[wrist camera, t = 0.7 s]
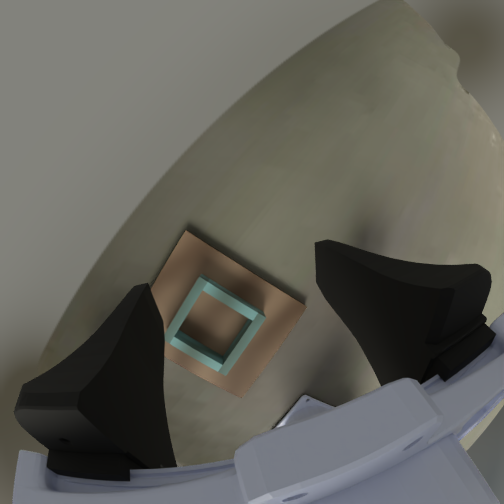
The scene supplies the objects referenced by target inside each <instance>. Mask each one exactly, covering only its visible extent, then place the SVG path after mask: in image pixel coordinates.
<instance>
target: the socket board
mask: <svg viewBox="0 0 504 504" xmlns="http://www.w3.org/2000/svg"><path fill="white" fill-rule="evenodd" d="M151 292H152V294H153V297H154V299H155V302H156V304H157V307H158V309H159V312H160V314H161V316H162V319H163V322H164V334H165V352H164V356H165V357H166V358H168V359H170V360H171V361H173V362H175V363H176V364H178V365H180V366H181V367H183V368H185V369H187V370H188V371H190V372H192V373H194V374H195V375H197V376H199V377H201V378H203V379H205V380H206V381H208V382H210V383H212V384H214V385H216V386H218V387H220V388H222V389H224V390H226V391H228V392H230V393H232V394H234V395H236V396H238V397H240V398H242V397H243V396H244V395H245V393H246V392H247V391H248V389H249V388H250V387H251V385H252V384H253V383H254V382H255V380H256V379H257V378H258V376H259V375H260V374H261V372H262V371H263V370H264V368H265V367H266V365H267V364H268V363H269V361H270V360H271V359H272V357H273V356H274V354H275V353H276V352H277V350H278V349H279V347H280V346H281V345H282V343H283V342H284V340H285V339H286V337H287V336H288V334H289V333H290V332H291V330H292V329H293V327H294V326H295V324H296V323H297V321H298V320H299V318H300V317H301V315H302V314H303V312H304V311H305V309H306V308H307V307H306V306H305V305H304V304H302V303H301V302H299V301H297V300H296V299H294V298H293V297H291V296H289V295H288V294H286V293H285V292H283V291H281V290H280V289H278V288H277V287H275V286H273V285H272V284H270V283H269V282H267V281H265V280H264V279H262V278H261V277H259V276H257V275H256V274H254V273H253V272H251V271H249V270H248V269H246V268H245V267H243V266H242V265H240V264H238V263H237V262H235V261H234V260H232V259H230V258H229V257H227V256H226V255H224V254H223V253H221V252H219V251H218V250H216V249H215V248H213V247H212V246H210V245H209V244H207V243H205V242H204V241H202V240H201V239H199V238H198V237H196V236H195V235H193V234H191V233H190V232H188V231H185V232H184V234H183V235H182V237H181V239H180V240H179V242H178V244H177V245H176V247H175V249H174V250H173V252H172V253H171V255H170V257H169V259H168V260H167V262H166V264H165V265H164V267H163V269H162V270H161V272H160V274H159V276H158V277H157V279H156V281H155V283H154V284H153V286H152V288H151Z"/></svg>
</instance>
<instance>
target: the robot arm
mask: <svg viewBox="0 0 504 504" xmlns="http://www.w3.org/2000/svg"><path fill="white" fill-rule="evenodd" d="M315 260H316V283H317V285H318V286H319V288H320V290H321V292H322V294H323V295H324V297H325V299H326V300H327V301H328V303H329V304H330V305H331V307H332V308H333V309H334V311H335V312H336V313H337V314H338V316H339V317H340V318H341V319H342V321H343V322H344V323H345V325H346V326H347V327H348V328H349V330H350V331H351V332H352V334H353V335H354V337H355V338H356V339H357V341H358V343H359V345H360V346H361V348H362V350H363V351H364V353H365V355H366V357H367V359H368V361H369V362H370V364H371V366H372V368H373V370H374V372H375V374H376V376H377V378H378V380H379V383H380V385H381V387H379V388H377V389H375V390H373V391H371V392H369V393H367V394H365V395H363V396H360V397H358V398H356V399H354V400H351V401H349V402H347V403H344V404H342V405H339V406H337V407H333V406H331V405H328V404H326V403H324V402H321V401H319V400H316V399H314V398H312V397H310V396H307V395H303V396H301V398H300V399H299V400H298V401H297V403H296V404H295V405H294V406H293V407H292V409H291V410H290V411H289V412H288V413H287V414H286V416H285V417H284V418H283V419H282V420H281V421H280V423H279V424H278V425H277V426H276V427H275V428H274V429H272V430H269V431H267V432H264V433H262V434H259V435H256V436H254V437H252V438H251V439H250V440H248V441H247V442H245V443H244V444H243V445H241V446H240V447H239V448H238V449H237V450H236V451H235V456H234V459H229V460H224V461H219V462H213V463H206V464H199V465H192V466H183V467H177V464H176V460H175V457H174V453H173V448H172V444H171V439H170V434H169V429H168V423H167V416H166V409H165V401H164V390H163V377H164V352H165V334H164V322H163V319H162V316H161V314H160V312H159V309H158V307H157V304H156V302H155V299H154V297H153V294H152V292H151V289H150V287H149V284H148V283H145V284H141V285H137V286H134V287H133V288H132V289H131V290H130V291H129V293H128V294H127V295H126V296H125V298H124V299H123V300H122V301H121V303H120V304H119V305H118V306H117V307H116V309H115V310H114V311H113V312H112V314H111V315H110V316H109V317H108V318H107V319H106V321H105V322H104V323H103V324H102V325H101V326H100V328H99V329H98V330H97V331H96V332H95V333H94V334H93V335H92V336H91V337H90V338H89V339H88V340H87V341H86V342H85V343H84V344H83V345H81V346H80V347H79V348H78V349H77V350H75V351H74V352H73V353H72V354H71V355H69V356H68V357H67V358H66V359H64V360H63V361H62V362H60V363H59V364H57V365H56V366H54V367H53V368H51V369H50V370H48V371H47V372H45V373H44V374H42V375H40V376H38V377H36V378H35V379H33V380H31V381H29V382H27V383H25V384H23V386H22V389H21V391H20V394H19V397H18V400H17V403H16V406H15V410H14V414H15V417H16V419H17V421H18V422H19V424H20V425H21V426H22V427H23V428H24V429H25V430H26V431H27V432H28V433H29V434H30V435H32V436H33V437H34V438H35V439H36V440H38V441H39V442H40V443H41V444H43V445H44V446H45V447H46V448H48V449H49V453H48V457H47V456H45V455H43V454H40V453H36V452H31V451H25V450H20V451H19V457H18V462H17V468H16V475H15V482H14V491H13V502H12V503H13V504H500V503H499V501H498V499H497V498H496V496H495V495H494V493H493V491H492V490H491V488H490V487H489V485H488V484H487V482H486V480H485V479H484V478H483V476H482V474H481V473H480V471H479V470H478V468H477V467H476V465H475V464H474V462H473V461H472V460H471V458H470V457H469V455H468V454H467V452H466V451H465V449H464V448H463V447H462V445H461V444H460V442H459V441H460V440H461V439H462V438H463V437H464V436H466V435H467V434H468V433H469V432H470V431H471V430H472V429H473V428H474V427H475V426H477V425H478V424H479V423H480V422H481V421H482V420H483V419H484V418H485V417H486V416H487V415H488V414H489V413H490V412H491V411H492V410H493V409H494V408H495V407H496V405H497V404H498V403H499V402H500V401H501V400H502V399H503V398H504V313H503V314H501V315H500V316H499V317H498V318H497V319H496V320H495V321H494V322H493V323H492V324H491V326H490V327H488V326H487V325H486V324H485V322H486V320H487V318H486V317H485V316H484V315H483V314H482V311H483V309H484V306H485V303H486V301H487V298H488V295H489V292H490V288H491V282H492V281H491V274H490V272H489V271H488V270H486V269H485V268H483V267H482V266H480V265H478V264H462V265H435V264H423V263H415V262H408V261H403V260H398V259H393V258H389V257H385V256H381V255H378V254H374V253H371V252H367V251H364V250H361V249H358V248H355V247H352V246H349V245H346V244H343V243H339V242H336V241H332V240H324V241H319V242H315ZM307 399H309V400H307ZM306 400H307V401H306Z"/></svg>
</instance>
